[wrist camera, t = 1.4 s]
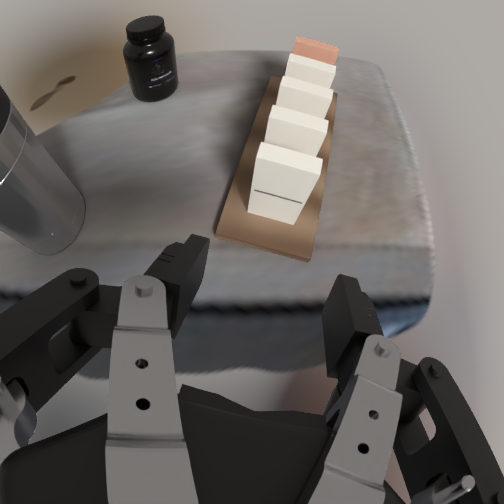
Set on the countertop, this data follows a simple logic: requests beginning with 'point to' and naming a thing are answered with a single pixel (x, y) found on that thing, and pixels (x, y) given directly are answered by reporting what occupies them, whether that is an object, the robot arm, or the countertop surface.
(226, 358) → the countertop surface
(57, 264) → the countertop surface
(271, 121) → the domino
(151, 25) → the supplement bottle
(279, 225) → the board
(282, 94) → the domino
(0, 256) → the countertop surface
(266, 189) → the domino
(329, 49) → the domino
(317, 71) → the domino
